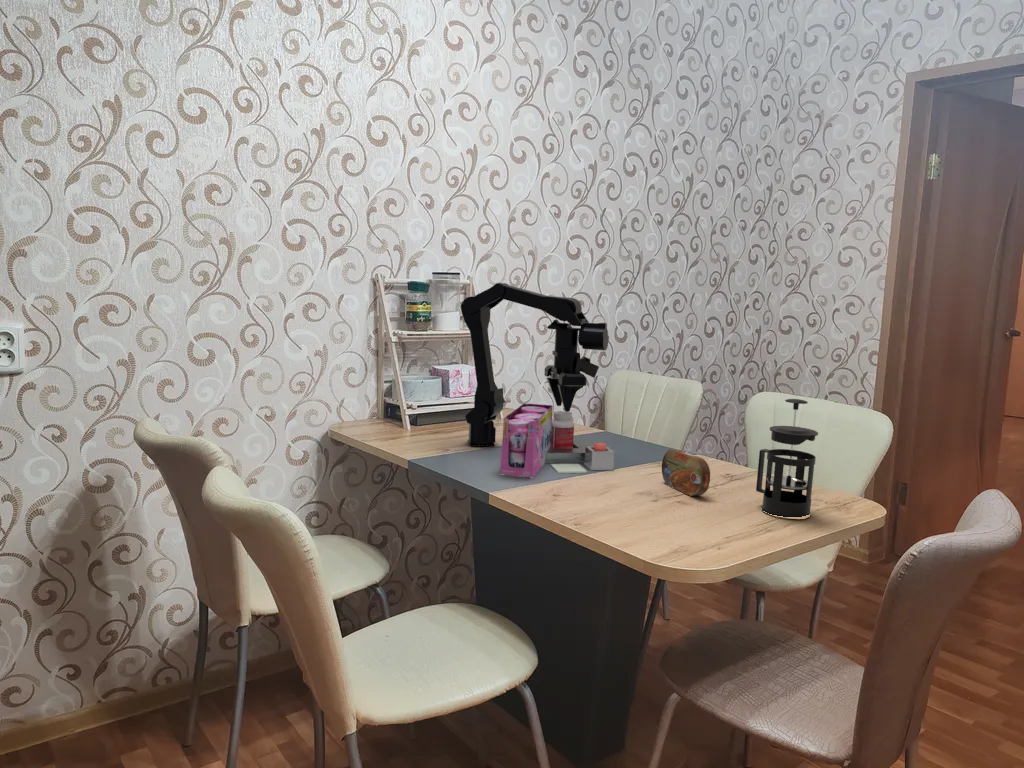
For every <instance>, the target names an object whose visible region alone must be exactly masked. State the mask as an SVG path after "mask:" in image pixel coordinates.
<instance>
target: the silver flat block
mask: <svg viewBox="0 0 1024 768" xmlns="http://www.w3.org/2000/svg"><path fill="white" fill-rule="evenodd" d="M585 446H594V443H593V442H591V440H573V448H549V450H548V451H547V452H546V454H545V464H552V463H551V462H556V463H555V464H579V463H581V464H582V463H584V464H585ZM558 462H559V463H558ZM561 462H562V463H561Z"/></svg>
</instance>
